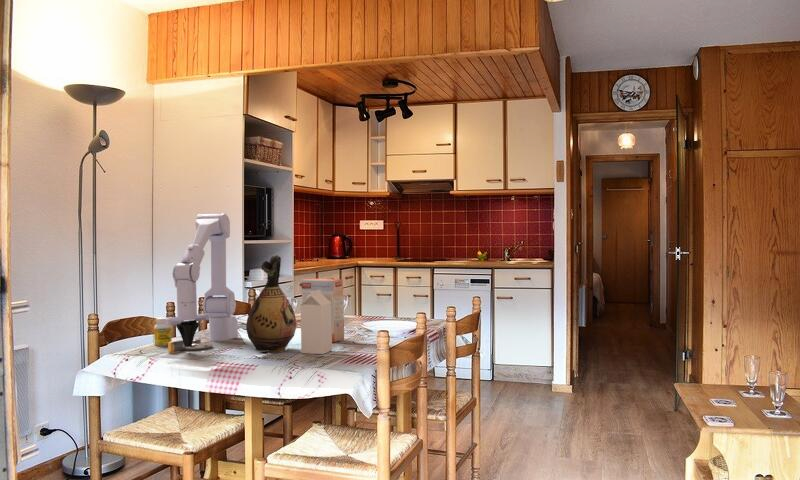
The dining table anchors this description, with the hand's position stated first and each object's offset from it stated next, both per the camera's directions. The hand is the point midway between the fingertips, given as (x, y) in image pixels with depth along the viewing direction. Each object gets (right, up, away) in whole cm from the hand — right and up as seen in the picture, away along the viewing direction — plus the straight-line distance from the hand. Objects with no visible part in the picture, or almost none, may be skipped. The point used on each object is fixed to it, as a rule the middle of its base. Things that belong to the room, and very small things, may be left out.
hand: (188, 346), depth 205 cm
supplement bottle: (-13, -3, +16) cm, 21 cm away
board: (0, -3, +7) cm, 8 cm away
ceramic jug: (+25, -3, +7) cm, 26 cm away
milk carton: (+39, -2, +2) cm, 39 cm away
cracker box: (+39, -2, +24) cm, 46 cm away
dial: (-1, -2, +6) cm, 6 cm away
